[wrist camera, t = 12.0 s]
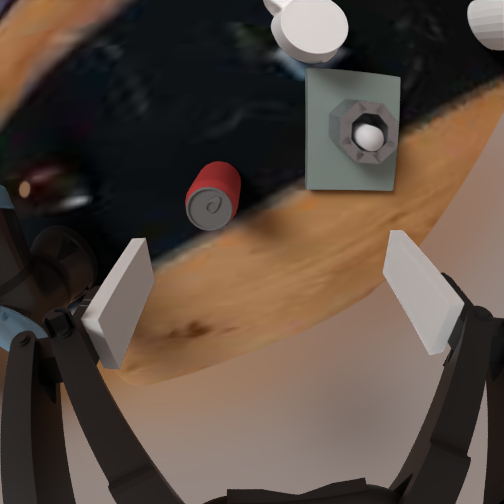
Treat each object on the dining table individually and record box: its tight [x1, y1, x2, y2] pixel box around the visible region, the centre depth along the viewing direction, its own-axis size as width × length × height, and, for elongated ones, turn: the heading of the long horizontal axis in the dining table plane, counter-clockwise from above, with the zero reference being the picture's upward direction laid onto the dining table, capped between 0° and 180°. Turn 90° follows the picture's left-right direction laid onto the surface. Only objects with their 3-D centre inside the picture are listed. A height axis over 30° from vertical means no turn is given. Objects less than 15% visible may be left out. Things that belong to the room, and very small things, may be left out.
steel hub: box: [329, 99, 399, 164], centre depth 38 cm, size 8×8×6 cm
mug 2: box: [263, 0, 348, 64], centre depth 32 cm, size 12×9×8 cm
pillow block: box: [305, 68, 400, 191], centre depth 39 cm, size 14×18×9 cm
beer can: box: [185, 161, 241, 231], centre depth 42 cm, size 7×7×12 cm
